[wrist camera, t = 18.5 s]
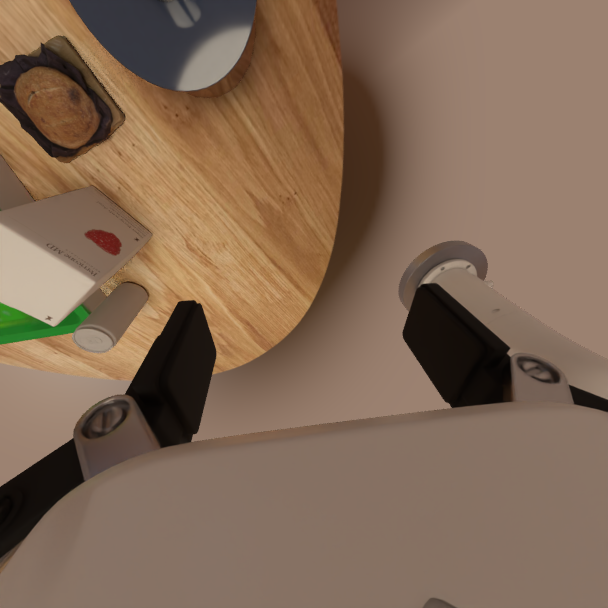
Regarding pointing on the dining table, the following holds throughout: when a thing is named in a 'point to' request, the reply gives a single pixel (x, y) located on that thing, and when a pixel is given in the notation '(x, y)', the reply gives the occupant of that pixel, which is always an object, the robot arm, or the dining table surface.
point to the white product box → (63, 251)
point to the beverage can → (110, 319)
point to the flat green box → (12, 322)
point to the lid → (172, 37)
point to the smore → (58, 100)
